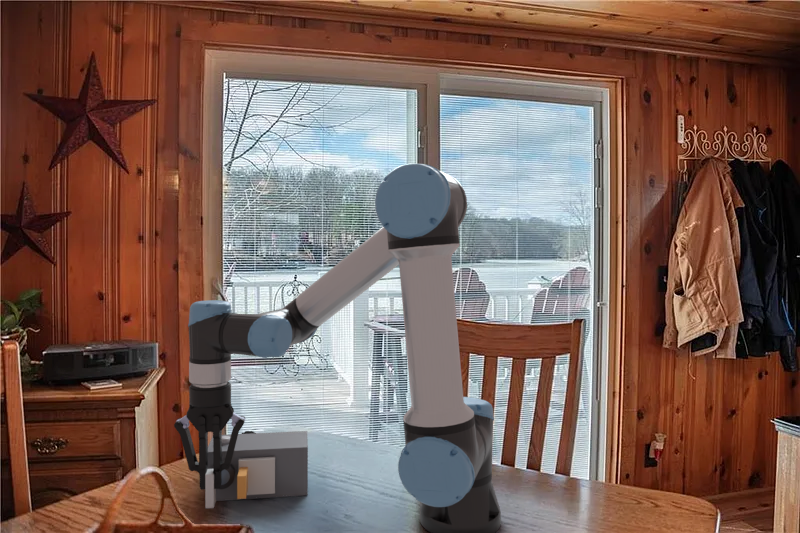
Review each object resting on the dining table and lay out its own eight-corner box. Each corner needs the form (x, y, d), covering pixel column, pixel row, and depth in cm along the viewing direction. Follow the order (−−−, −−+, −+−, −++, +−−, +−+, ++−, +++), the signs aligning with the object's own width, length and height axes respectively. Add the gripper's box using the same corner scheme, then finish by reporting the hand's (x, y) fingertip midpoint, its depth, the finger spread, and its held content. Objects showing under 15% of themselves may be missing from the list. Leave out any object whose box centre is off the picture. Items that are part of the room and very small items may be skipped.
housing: (307, 498, 117) (307, 445, 116) (204, 505, 113) (204, 450, 113) (307, 475, 128) (307, 426, 128) (213, 480, 125) (213, 430, 124)
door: (273, 503, 111) (273, 467, 111) (236, 505, 110) (236, 469, 110) (275, 490, 117) (275, 456, 116) (239, 493, 116) (239, 458, 115)
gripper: (247, 376, 114) (247, 494, 115) (178, 378, 112) (178, 498, 113) (244, 386, 107) (243, 511, 108) (169, 388, 104) (170, 516, 105)
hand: (210, 504), depth 110 cm, fingers closed
